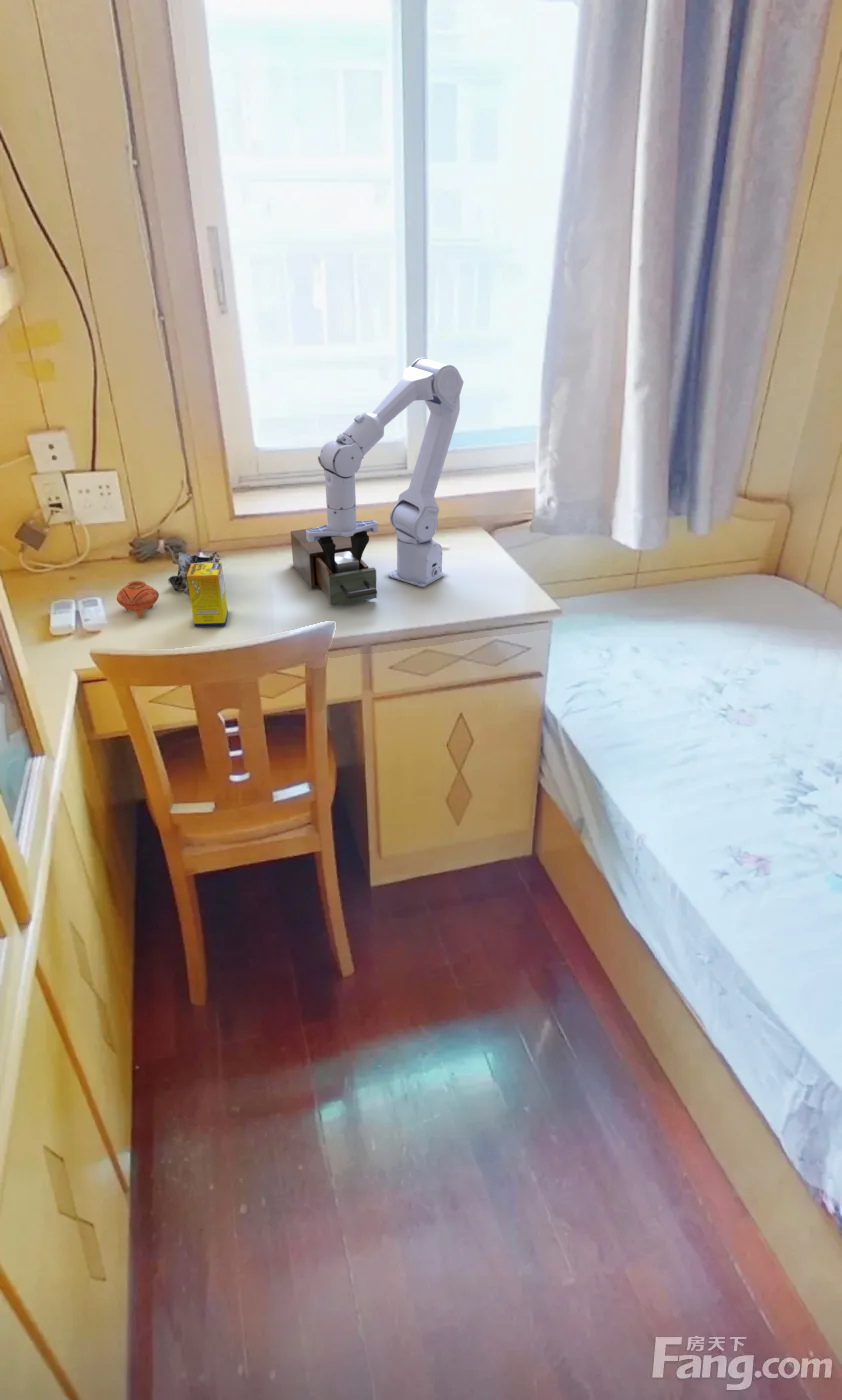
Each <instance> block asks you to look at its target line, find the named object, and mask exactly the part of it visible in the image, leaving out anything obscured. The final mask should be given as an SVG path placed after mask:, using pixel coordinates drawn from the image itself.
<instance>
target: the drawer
mask: <svg viewBox="0 0 842 1400" xmlns="http://www.w3.org/2000/svg"><path fill="white" fill-rule="evenodd" d="M350 552H351V553H352V551H350ZM313 558H314V574H315V581H316V582H317V583H318V585H319V586H320V587H321V588H320V589H321V590H322V591H323V592H324V594H325V595H326V596H327V597H328V605H329V607H335V606H340V605H345V604H350V603H357V602H362V601H367V600H372V599H377V597H378V596H377V595H378V590H377V569H376V568H375V567H369V566H368V565H367V563H366V562H365V561H364V560H363V559H362V558H361V561H360V566H359V570H356V571H350V572H344V573H338V574H332V572H331V570H330V569H329V567H328V563H327V559H326V557H325V555H321V556H314V557H313Z"/></svg>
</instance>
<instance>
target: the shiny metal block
mask: <svg viewBox="0 0 842 1400" xmlns="http://www.w3.org/2000/svg"><path fill="white" fill-rule="evenodd" d="M335 567H336V569H335V573H332V574H338V573H344V572H350V571H356V570H359V561H358V560H357V559H356V557H355V556H354V555H353V554H352V553H351V552H350V551H346V552H340V553H335Z"/></svg>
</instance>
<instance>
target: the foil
mask: <svg viewBox="0 0 842 1400" xmlns="http://www.w3.org/2000/svg"><path fill="white" fill-rule="evenodd" d="M216 557H217V558H216ZM221 560H222V559H221V558H220V555H219V552H217V551H214V552H213V553H212V554H211V555H210V556H207V557H206V556H198V555H196V554H194V555H191V554H190V553H186V552H182V551H179V552H178V560H177V562H178V570H177V575H172V576H170V577H169V578H168V580H167V581H168V583H169V584H170V586H171V587H172V588H173V590H174V591H175V592H176V591H182V592H181V593H182V594H184V595H186V596H188V597H190V594H189V587H188V581H187V573H188V571H189V568H190V565H191V564H192V563H220V561H221Z"/></svg>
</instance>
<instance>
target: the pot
mask: <svg viewBox="0 0 842 1400" xmlns="http://www.w3.org/2000/svg"><path fill="white" fill-rule="evenodd" d="M159 595H160V594H159V591H157V589H155V588H154V587H152V586H151V585H149V584H146V582H145V581H142V580H134V581H129V582H127V584H126V585H125V586H124V587H122V589H120V590H119V592H118V593H117V595H116V601H117V603H118V604H119V605H120V606H122V607H123V608H124V609H125V611H127V612H128V611H133V612H135V613H136V615H137V617H138V619H143V613H144V611H145V610H147V609H153V607H154V605H155V604H156V602H157V601H158V599H159Z"/></svg>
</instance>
